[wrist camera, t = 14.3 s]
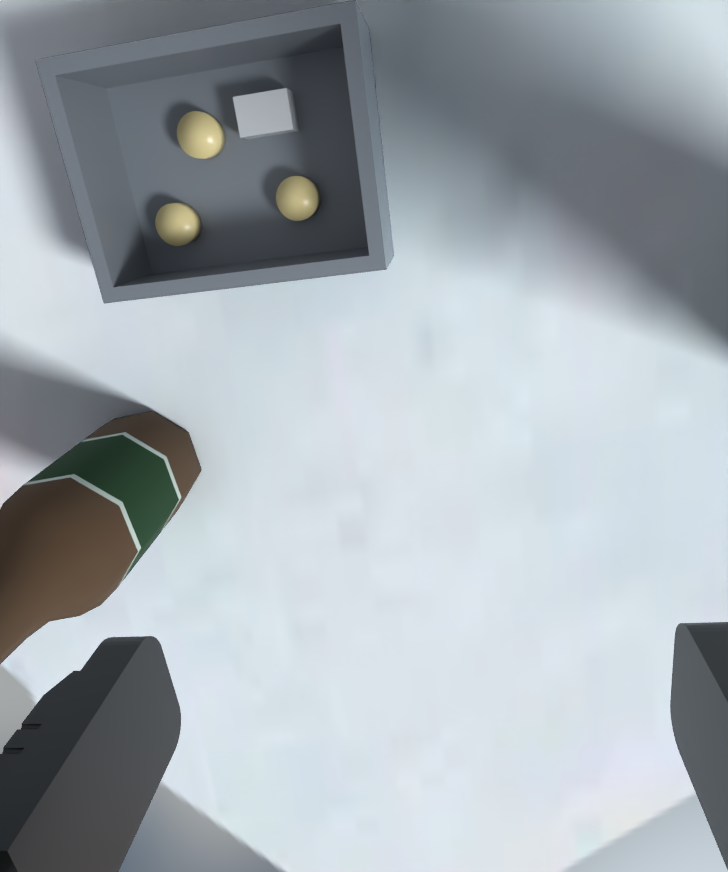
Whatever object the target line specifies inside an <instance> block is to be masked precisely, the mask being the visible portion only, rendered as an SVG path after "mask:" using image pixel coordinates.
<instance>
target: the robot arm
mask: <svg viewBox="0 0 728 872" xmlns="http://www.w3.org/2000/svg"><path fill="white" fill-rule="evenodd" d="M670 708H671V720H672V726H673V732H674V736H675V740H676V744H677V747H678V750H679V752H680V755H681V757H682V760H683V762H684V765H685V767H686V770H687V772H688V774H689V777H690V779H691V782H692V784H693V787H694V789H695V791H696V794H697V796H698V799H699V801H700V803H701V806H702V808H703V811H704V813H705V816H706V818H707V821H708V823H709V825H710V828H711V830H712V833H713V835H714V837H715V840H716V842H717V845H718V847H719V850H720V852H721V855H722V857H723V860H724V862H725V864H726V867H727V869H728V622H713V623H680V624H679V625H678V626H677V628H676V632H675V643H674V658H673V673H672V687H671V704H670ZM180 727H181V713H180V707H179V703H178V700H177V696H176V693H175V690H174V687H173V683H172V680H171V677H170V673H169V670H168V667H167V664H166V660H165V657H164V654H163V650H162V647H161V645H160V643H159V641H158V640H157V639H156V638H155V637H152V636H145V637H111V638H107V639H105V640H104V641H103V642H102V643H101V644H100V645H99V646H98V648H97V649H96V650H95V652H94V653H93V655H92V656H91V657H90V659H89V660H88V661H87V663H86V664H85V666H84V667H83V668H82V670H81V671H73V672H72V673H71V674H69V675H68V676H67V677H66V678H64V679H63V680H62V681H61V682H59V683H58V684H57V685H56V686H54V687H53V688H52V689H51V690H50V691H48V692H47V693H46V694H45V695H43V697H42V698H41V699H40V701H39V702H38V703H37V704H36V706H35V707H34V708H33V710H32V711H31V712H30V714H29V715H28V716H27V718H26V719H25V720H24V721H23V723H22V728H21V730H17V731H16V732H15V733H14V735H13V736H12V737H11V739H10V740H9V741H8V742H7V744H6V745H5V746H4V748H3V749H4V750H3V753H2V754H0V872H118V871H119V869H120V867H121V865H122V863H123V860H124V858H125V856H126V854H127V852H128V850H129V848H130V845H131V844H132V841H133V839H134V837H135V835H136V833H137V831H138V828H139V826H140V824H141V821H142V820H143V818H144V816H145V813H146V811H147V809H148V807H149V805H150V803H151V800H152V798H153V796H154V794H155V792H156V789H157V787H158V785H159V783H160V781H161V779H162V777H163V775H164V773H165V770H166V768H167V766H168V764H169V762H170V760H171V757H172V755H173V753H174V751H175V749H176V746H177V743H178V739H179V734H180Z"/></svg>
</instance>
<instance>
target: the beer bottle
mask: <svg viewBox="0 0 728 872" xmlns="http://www.w3.org/2000/svg"><path fill="white" fill-rule="evenodd" d="M200 472H201V466H200V463H199V461H198V458H197V455H196V452H195V449H194V446H193V443H192V441H191V438H190V435H189V433H188V432H187V431H185V430H183V429H182V428H180V427H178V426H177V425H175V424H174V423H172V422H170V421H169V420H167V419H165V418H164V417H162V416H160V415H159V414H157V413H155V412H147V413H141V414H136V415H131V416H126V417H120V418H115V419H113V420H112V421H110V422H108V423H107V424H105V425H103V426H102V427H100V428H99V429H98V430H96V431H95V432H94V433H92V434H91V435H90V436H88V437H87V438H86V439H84V440H83V441H82V442H80V443H79V444H78V445H76V446H75V447H74V448H72V449H71V450H70V451H68V452H67V453H66V454H64V455H63V456H62V457H60V458H59V459H57V460H56V461H55V462H53V463H52V464H51V465H49V466H48V467H47V468H45V469H44V470H43V471H41V472H40V473H39V474H37V475H36V476H35V477H33V478H32V479H31V480H29V481H28V482H27V483H25V484H24V485H23V486H22V487H20V488H19V489H18V490H17V491H16V492H15V493H14V494H13V495H12V496H11V497H10V498H9V499H8V500H6V501H5V502H4V503H3V505H2V507H1V509H0V664H1V663H2V662H3V661H4V660H5V659H6V658H7V657H8V656H9V655H10V654H11V653H12V652H13V651H14V650H15V649H16V648H17V647H18V646H19V645H20V644H21V643H22V642H23V641H24V640H25V639H26V638H28V637H29V636H30V635H32V634H33V633H34V632H36V631H37V630H38V629H40V628H41V627H42V626H44V625H45V624H46V623H48V622H49V621H54V620H59V619H65V618H70V617H76V616H80V615H82V614H84V613H86V612H88V611H90V610H92V609H94V608H96V607H98V606H100V605H101V604H102V603H103V602H104V601H105V600H106V599H107V598H108V597H109V596H110V595H111V594H112V593H113V592H114V591H115V590H116V589H117V587H118V586H119V585H120V584H121V582H122V581H123V580H124V579H125V577H126V576H127V575H128V573H129V572H130V571H131V570H132V568H133V567H134V566H135V564H136V563H137V562H138V561H139V559H140V558H141V557H142V556H143V554H144V553H145V552H146V550H147V549H148V548H149V547H150V545H151V544H152V543H153V541H154V540H155V539H156V538H157V536H158V535H159V534H160V532H161V531H162V530H163V529H164V527H165V526H166V525H167V523H168V522H169V521H170V520H171V518H172V517H173V516H174V514H175V513H176V512H177V510H178V509H179V507H180V506H181V504H182V503H183V501H184V499H185V498H186V496H187V494H188V493H189V491H190V489H191V487H192V486H193V484H194V482H195V481H196V479H197V477H198V475H199V474H200Z"/></svg>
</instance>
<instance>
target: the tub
mask: <svg viewBox="0 0 728 872" xmlns="http://www.w3.org/2000/svg"><path fill="white" fill-rule="evenodd" d="M35 61H36V65H37V68H38V72H39V75H40V79H41V82H42V86H43V89H44V93H45V97H46V100H47V104H48V107H49V111H50V114H51V118H52V121H53V125H54V129H55V132H56V136H57V139H58V143H59V146H60V150H61V153H62V157H63V160H64V164H65V168H66V171H67V175H68V178H69V182H70V185H71V189H72V192H73V196H74V199H75V203H76V207H77V210H78V214H79V217H80V221H81V224H82V228H83V231H84V235H85V238H86V242H87V246H88V249H89V253H90V256H91V260H92V263H93V267H94V270H95V274H96V277H97V281H98V285H99V288H100V292H101V295H102V299H103V302H104V303H112V302H120V301H128V300H137V299H145V298H153V297H162V296H170V295H178V294H186V293H195V292H203V291H211V290H220V289H228V288H236V287H245V286H253V285H261V284H270V283H278V282H286V281H295V280H303V279H311V278H320V277H328V276H336V275H345V274H353V273H361V272H370V271H378V270H386V269H387V267H388V266H389V264H390V262H391V260H392V259H393V257H394V251H393V242H392V233H391V224H390V215H389V206H388V197H387V188H386V179H385V169H384V160H383V151H382V142H381V133H380V124H379V115H378V106H377V97H376V88H375V79H374V70H373V60H372V51H371V42H370V33H369V27H368V25H367V23H366V21H365V19H364V17H363V15H362V13H361V11H360V9H359V7H358V5H357V2H356V0H352V1H346V2H341V3H335V4H330V5H325V6H319V7H314V8H309V9H303V10H298V11H293V12H287V13H282V14H277V15H271V16H266V17H261V18H255V19H250V20H245V21H239V22H234V23H229V24H223V25H218V26H213V27H207V28H202V29H196V30H191V31H186V32H180V33H175V34H170V35H164V36H159V37H154V38H148V39H143V40H138V41H132V42H127V43H122V44H116V45H111V46H106V47H100V48H95V49H90V50H84V51H79V52H73V53H68V54H63V55H57V56H52V57H47V58H41V59H36V60H35Z"/></svg>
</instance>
